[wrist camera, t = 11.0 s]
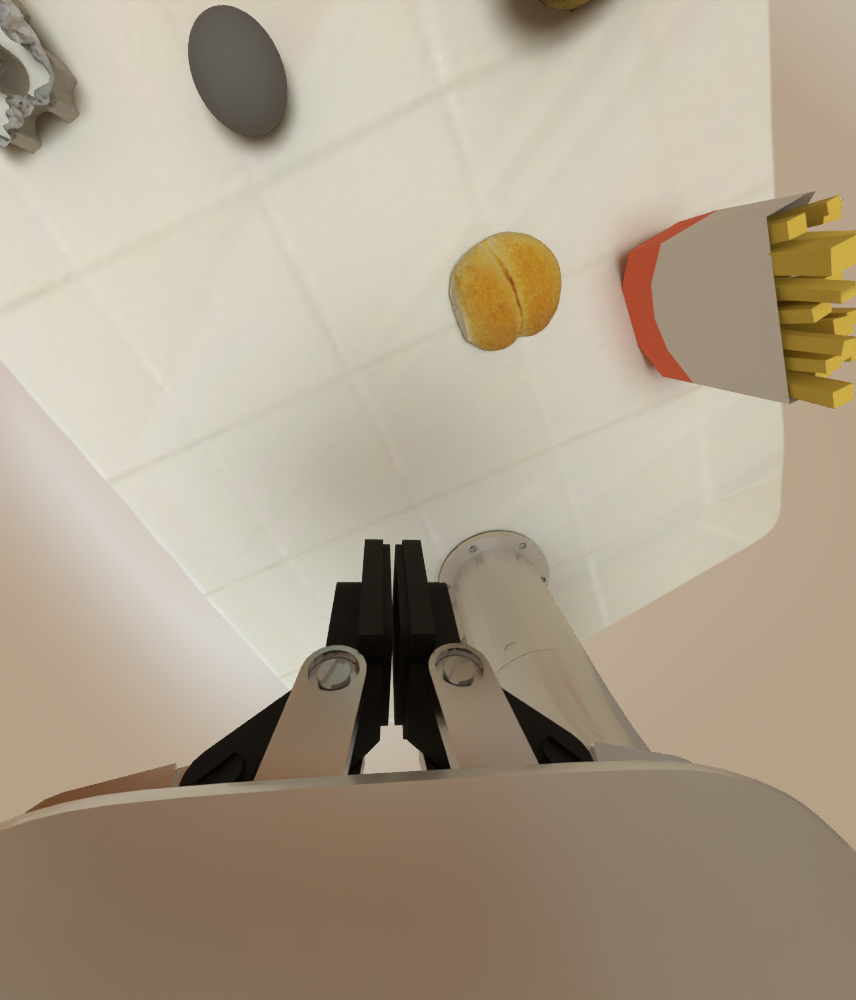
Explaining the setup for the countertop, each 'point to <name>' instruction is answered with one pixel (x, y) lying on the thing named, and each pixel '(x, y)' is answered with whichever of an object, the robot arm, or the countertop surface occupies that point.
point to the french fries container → (749, 300)
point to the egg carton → (13, 80)
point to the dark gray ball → (237, 70)
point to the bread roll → (505, 290)
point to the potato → (565, 4)
